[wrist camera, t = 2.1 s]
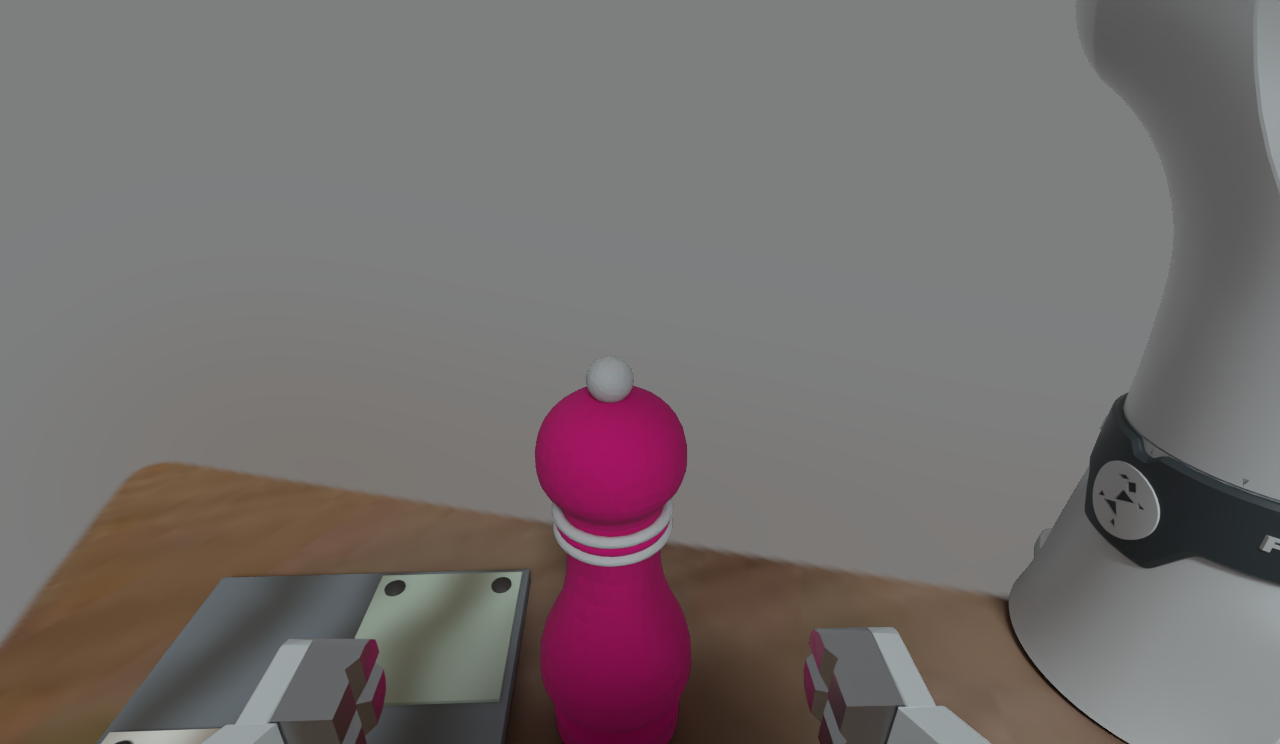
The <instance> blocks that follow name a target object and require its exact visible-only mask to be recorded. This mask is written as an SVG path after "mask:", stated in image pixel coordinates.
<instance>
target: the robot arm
mask: <svg viewBox="0 0 1280 744" xmlns="http://www.w3.org/2000/svg"><path fill="white" fill-rule="evenodd" d="M1076 20H1077V28H1078V34H1079V38H1080V41H1081V44H1082V47H1083V50H1084V53H1085V55H1086V57H1087V59H1088V61H1089V63H1090V64H1091V66H1092V67H1093V69H1094V70H1095V72H1096V73H1097V74H1098V76H1099V77H1100V78H1101V79H1102V80H1103V81H1104V82H1105V83H1106V84H1107V85H1108V86H1109V87H1111V88H1112V89H1113V90H1114V91H1115V92H1116V93H1117V94H1118V95H1119V96H1121V97H1122V99H1123V100H1124V101H1125V102H1126V103H1127V105H1128V106H1129V107H1130V108H1131V109H1132V110H1133V112H1134V113H1135V114H1136V115H1137V117H1138V118H1139V120H1140V121H1141V123H1142V124H1143V126H1144V127H1145V129H1146V130H1147V132H1148V133H1149V136H1150V137H1151V140H1152V142H1153V144H1154V146H1155V148H1156V150H1157V152H1158V154H1159V157H1160V160H1161V163H1162V166H1163V168H1164V171H1165V174H1166V177H1167V182H1168V187H1169V191H1170V196H1171V201H1172V211H1173V221H1174V239H1173V240H1174V241H1173V251H1172V258H1171V264H1170V269H1169V274H1168V278H1167V282H1166V285H1165V289H1164V292H1163V296H1162V299H1161V303H1160V306H1159V309H1158V313H1157V316H1156V319H1155V322H1154V325H1153V329H1152V332H1151V335H1150V338H1149V341H1148V343H1147V346H1146V349H1145V351H1144V355H1143V357H1142V360H1141V363H1140V365H1139V368H1138V370H1137V373H1136V375H1135V378H1134V380H1133V383H1132V385H1131V388H1130V390H1129V392H1128V393H1126V394H1124V395H1122V396H1120V397H1119V398H1118V399H1117V400H1116V401H1115V402H1114V404H1113V406H1112V408H1111V410H1110V412H1109V415H1107V416H1106V418H1105V420H1104V422H1103V424H1102V426H1101V427H1100V429H1101V432H1100V434H1099V436H1098V439H1097V441H1096V444H1095V446H1094V449H1093V451H1092V454H1091V456H1090V465H1089V467H1088V468H1087V470H1086V472H1085V473H1084V475H1083V477H1082V478H1081V480H1080V482H1079V483H1078V485H1077V487H1076V489H1075V490H1074V492H1073V494H1072V495H1071V497H1070V499H1069V500H1068V502H1067V504H1066V506H1065V507H1064V509H1063V511H1062V513H1061V514H1060V516H1059V518H1058V520H1057V521H1056V523H1055V525H1054V527H1053V529H1046V530H1044V531H1042V533H1041V534H1040V536H1039V538H1038V539H1037V541H1036V543H1035V547H1034V560H1033V561H1032V562H1031V564H1030V565H1029V566H1028V567H1027V569H1026V570H1025V571H1024V572H1023V573H1022V574H1021V575H1020V577H1019V578H1018V579H1017V580H1016V582H1015V583H1014V585H1013V587H1012V589H1011V592H1010V596H1009V613H1010V618H1011V622H1012V625H1013V628H1014V630H1015V633H1016V635H1017V637H1018V639H1019V641H1020V643H1021V644H1022V646H1023V648H1024V649H1025V651H1026V652H1027V654H1028V655H1029V657H1030V658H1031V660H1032V661H1033V662H1034V664H1035V665H1036V666H1037V667H1038V669H1039V670H1040V671H1041V672H1042V673H1043V675H1044V676H1045V677H1046V678H1047V679H1048V680H1049V681H1050V682H1051V683H1052V684H1053V685H1054V686H1055V687H1056V688H1057V689H1058V690H1059V691H1060V692H1061V693H1062V694H1063V695H1064V696H1065V697H1066V698H1067V699H1068V700H1069V701H1071V702H1072V703H1073V704H1074V705H1075V706H1077V707H1078V708H1079V709H1080V710H1081V711H1083V712H1084V713H1085V714H1086V715H1088V716H1089V717H1090V718H1092V719H1093V720H1094V721H1096V722H1097V723H1099V724H1100V725H1101V726H1103V727H1104V728H1106V729H1107V730H1109V731H1110V732H1112V733H1113V734H1115V735H1116V736H1118V737H1119V738H1121V739H1123V740H1124V741H1126V742H1128V743H1129V744H1280V0H1076ZM809 644H810V647H811V650H812V654H811V655H810V656H809V657H808V658H807V659H806V661H805V668H804V687H805V692H806V697H807V702H808V705H809V708H810V712H811V714H812V715H813V716H815V717H816V718H817V719H818V720H819V721H820V722H821V726H820V731H819V735H818V738H819V741H820V744H991V743H990V742H989V741H988V740H986V739H985V738H984V737H983V736H981V735H980V734H979V733H978V732H976V731H975V730H974V729H973V728H971V727H970V726H969V725H968V724H966V723H965V722H964V721H963V720H961V719H960V718H959V717H958V716H956V715H955V714H954V713H953V712H951V711H950V710H949V709H948V708H946V707H945V706H936V704H935V702H934V700H933V698H932V696H931V695H930V693H929V691H928V689H927V687H926V685H925V683H924V681H923V679H922V677H921V675H920V673H919V671H918V670H917V668H916V666H915V664H914V662H913V660H912V658H911V656H910V654H909V652H908V650H907V648H906V646H905V645H904V643H903V641H902V639H901V637H900V635H899V633H898V631H897V630H895V629H894V628H893V627H872V628H864V627H854V628H825V629H814V630H813V631H812V633H811V636H810V641H809ZM378 654H379V649H378V646H377V642H376V639H288V640H287V641H286V642H285V643H284V644H283V645H282V646H281V647H280V648H279V650H278V651H277V653H276V655H275V657H274V658H273V660H272V662H271V663H270V665H269V667H268V668H267V670H266V672H265V674H264V675H263V677H262V679H261V680H260V682H259V684H258V685H257V687H256V689H255V691H254V692H253V694H252V696H251V697H250V699H249V701H248V702H247V704H246V706H245V708H244V709H243V711H242V713H241V714H240V716H239V718H238V719H237V721H236V723H235V724H227V725H225V726H223V727H222V728H221V729H220V730H218V731H217V732H216V733H214V734H213V735H212V736H210V737H209V738H208V739H207V740H205V741H204V742H203V743H201V744H367V742H366V738H365V736H366V735H367V734H368V733H369V732H370V731H371V730H372V729H373V728H374V727H375V726H376V725H377V724H378V722H379V719H380V716H381V713H382V710H383V706H384V700H385V694H386V677H385V673H384V669H383V668H382V667H381V666H379V665H378V664H377V663H376V659H377V657H378Z"/></svg>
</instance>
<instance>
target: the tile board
mask: <svg viewBox="0 0 1280 744" xmlns="http://www.w3.org/2000/svg"><path fill="white" fill-rule="evenodd" d="M530 583H531V578H530V569H519V570H484V571H448V572H412V573H376V574H340V575H304V576H269V577H233V578H222V580H221V581H220V582H219V584H218V585H217V586H216V588H215V589H214V590H213V591H212V593H211V594H210V595H209V597H208V598H207V599H206V601H205V602H204V603H203V605H202V606H201V607H200V608H199V610H198V611H197V612H196V614H195V615H194V616H193V618H192V619H191V620H190V622H189V623H188V624H187V625H186V627H185V628H184V629H183V631H182V632H181V633H180V635H179V636H178V637H177V639H176V640H175V641H174V642H173V644H172V645H171V646H170V648H169V649H168V650H167V652H166V653H165V654H164V656H163V657H162V658H161V659H160V661H159V662H158V663H157V665H156V666H155V667H154V669H153V670H152V671H151V673H150V674H149V675H148V676H147V678H146V679H145V680H144V682H143V683H142V684H141V686H140V687H139V688H138V690H137V691H136V692H135V693H134V695H133V696H132V697H131V699H130V700H129V701H128V703H127V704H126V705H125V707H124V708H123V709H122V710H121V712H120V713H119V714H118V716H117V717H116V718H115V720H114V721H113V722H112V724H111V725H110V726H109V727H108V729H107V730H106V731H105V733H104V734H103V735H102V737H101V738H100V739H99V741H98V742H97V743H96V744H201V743H203V742H204V741H205V740H207V739H208V738H209V737H210V736H212V735H213V734H214V733H216V732H217V731H218V730H220V729H221V728H222V727H223V726H225V725H227V724H235V723H236V721H237V719H238V718H239V716H240V714H241V713H242V711H243V709H244V708H245V706H246V704H247V702H248V701H249V699H250V697H251V696H252V694H253V692H254V691H255V689H256V687H257V685H258V684H259V682H260V680H261V679H262V677H263V675H264V674H265V672H266V670H267V668H268V667H269V665H270V663H271V662H272V660H273V658H274V657H275V655H276V653H277V651H278V650H279V648H280V647H281V646H282V645H283V644H284V643H285V642H286V641H287V640H288V639H376V642H377V646H378V649H379V654H378V657H377V659H376V663H377V664H378V665H379V666H381V667H382V668H383V669H384V673H385V677H386V694H385V700H384V706H383V710H382V713H381V716H380V719H379V722H378V724H377V725H376V726H375V727H374V728H373V729H372V730H371V731H370V732H369V733H368V734H367V735H366V736H365V738H366V742H367V744H505V739H506V733H507V726H508V720H509V714H510V708H511V701H512V695H513V689H514V683H515V676H516V670H517V664H518V658H519V651H520V645H521V639H522V633H523V626H524V620H525V614H526V608H527V601H528V595H529V589H530Z"/></svg>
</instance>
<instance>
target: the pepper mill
mask: <svg viewBox="0 0 1280 744" xmlns="http://www.w3.org/2000/svg"><path fill="white" fill-rule="evenodd" d="M633 382H634V380H633V372H632V369H631V368H630V367H629V365H628V364H627V363H626V362H625V361H624V360H622V359H620V358H618V357H615V356H604V357H601V358H599V359H597V360H596V361H594V362H593V364H592V365H591V366H590V368H589V370H588V371H587V375H586V384H587V387H584V388H582V389H579V390H577V391H575V392H573V393H571V394H570V395H568V396H566V397H564V398H563V399H562V400H561V401H560V402H559V403H557V404H556V405H555V406H554V407H553V408H552V409H551V411H550V412H549V413H548V415H547V416H546V417H545V419H544V421H543V423H542V425H541V427H540V430H539V433H538V437H537V441H536V448H535V462H536V471H537V475H538V479H539V482H540V485H541V487H542V489H543V490H544V491H545V493H546V494H547V496H548V497H549V498H550V500H551V501H552V502H553V504H552V515H553V519H554V522H553V531H554V534H555V537H556V540H557V542H558V543H559V545H560V546H561V547H562V548H563V550H564V551H565V552H566V553H567V567H566V577H565V581H564V586H563V589H562V591H561V593H560V594H559V596H558V598H557V600H556V601H555V603H554V605H553V607H552V609H551V611H550V613H549V615H548V617H547V621H546V624H545V628H544V631H543V635H542V640H541V674H542V679H543V682H544V685H545V688H546V691H547V693H548V695H549V697H550V698H551V700H552V702H553V703H554V704H555V712H556V724H557V728H558V732H559V735H560V737H561V739H562V741H563V743H564V744H668V743H669V741H670V740H671V738H672V736H673V734H674V731H675V728H676V726H677V721H678V709H679V698H680V696H681V694H682V692H683V690H684V688H685V686H686V684H687V681H688V678H689V674H690V667H691V648H690V635H689V631H688V627H687V623H686V620H685V617H684V614H683V611H682V609H681V607H680V605H679V603H678V601H677V600H676V598H675V596H674V595H673V593H672V591H671V589H670V588H669V586H668V583H667V581H666V579H665V576H664V573H663V569H662V566H661V556H660V549H661V548H662V547H663V546H664V545H665V544H666V542H667V541H668V539H669V537H670V534H671V531H672V526H673V521H672V512H673V501H672V497H673V495H674V494H675V493H676V492H677V490H678V489H679V487H680V485H681V483H682V480H683V477H684V474H685V472H686V466H687V444H686V440H685V435H684V431H683V427H682V425H681V423H680V421H679V419H678V417H677V416H676V414H675V413H674V411H673V410H672V409H671V408H670V406H669V405H668V404H666V403H665V402H664V401H663V400H662V399H661V398H659V397H658V396H656V395H655V394H653V393H651V392H649V391H647V390H644V389H641V388H638V387H635V386H633Z"/></svg>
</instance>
